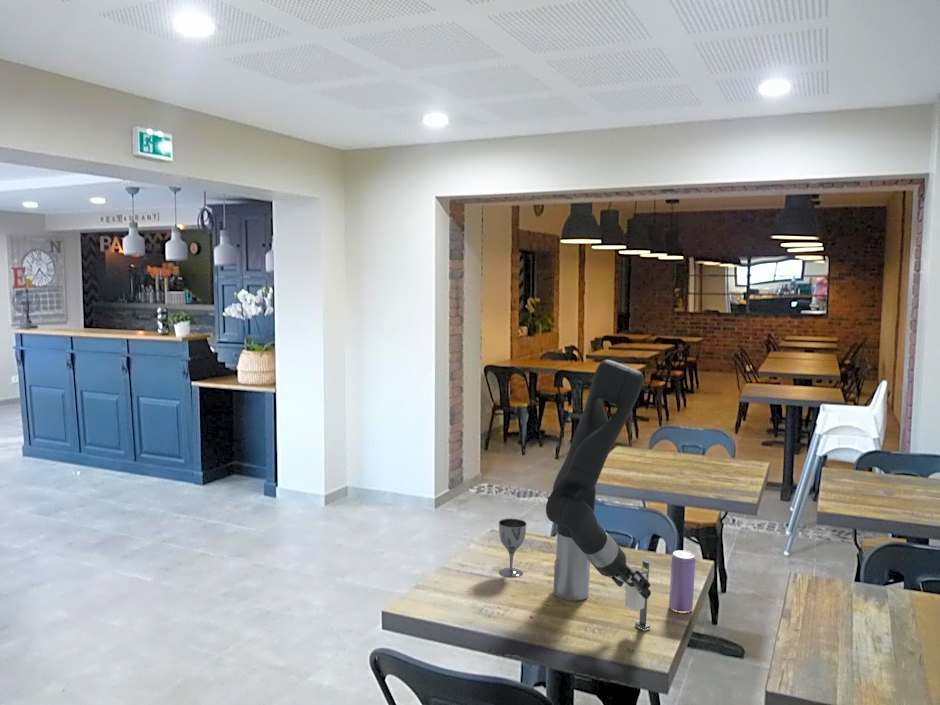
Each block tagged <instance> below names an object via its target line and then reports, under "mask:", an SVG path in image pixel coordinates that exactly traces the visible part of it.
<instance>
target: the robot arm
mask: <svg viewBox="0 0 940 705" xmlns="http://www.w3.org/2000/svg"><path fill="white" fill-rule="evenodd" d="M644 379H645V378H644V374H643V373H642V372H641V371H640V370H638V369H635V368H633V367H630V366H627V365H626V364H622V363H620V362H617V361H614V360H611V359H604V360H602V361H601V362H600V363H599V364H598V366H597V367H596V370H595V372H594V375H593V377H592V381H591V385H590V388H589V391H588V395H587V399H586V402H585V405H584V409H583V412H582V414H581V417H580V419H579V421H578V423H577V426H576V429H575V431H574V434H573V437H572V439H571V444H570V445H569V446H570V447H569V450H568V452H567V455H566V457H565V460H564V462H563V464H562V466H561V468H560V470H559V472H558V473H557V476H556V478H555V480H554V482H553V486H552V492H551V493H550V495H549V496H548V499H547V500H546V506H545V514H546V517H547V519H548V520H549V521H550V522H551V523H554V524H556V525H557V527H556V548H555V549H556V553H555V560H554V566H553V568H554V569H553V570H554V571H553V588H552V591H553V593H552V595H553V597H558V598H560V599H563V600H567V601H574V602H575V601H583V600H585V599H587V598H588V597H589V592H590V575H591V574H590V572H591V570H590V568H591V566H592V567H594V568H595V570H597V572H598V573H599V574H600V575H601V576H604V577H607V578H609V579H612V581H613V582H614V583H615V584H616V585H617V587H619V588H622V586H623V585H624V584H625V586H626V585H627V586H629V587H633V588H635V589H636V590H637V591H638V592H639V593H640V594H641V595H642V597H643V598H645V599H647V600H649V598H650V596H651V594H652V591H651V590H650V587H651V583H650V582H649V580H648V581H647V580H646V579H645V578H644V577H643V576H642V574H641V573H640V572H639V571H637V570H636V571H635V572H634V571H633V570H632V569H630V568H631V567H630V566H629V565H628V564H627V557H626V553H625V552H624V551H623V550H622V549H621V547H620V545H619V544H617V542H616V541H615V540H614V539H613V538H612V537H611V535H610V534H608V532H606V531H605V530H604V528H603V527H602V526H601V525H600V524H599V522H598V520H597V517H596V515H595V505H596V504H595V503H596V495H597V494H596V492H597V491H596V485H597V483H598V480H599V478H600V475H601V473H602V471H603V468H604V465H605V462H606V461H607V458H608V456H609V454H610V452H611V450H612V448H613V446H614V445H615V442H616V440H617V439H618V438H619V436H620V434H621V432H622V431H623V428H624V426H625V424H626V422H627V420H628V418H629V417H630V415H631V412H632V411H633V408H634V406H635V404H636V402H637V400H638V398H639V395H640V394H641V390H642V388H643V385H644ZM604 401H607V402H609V403H611V404H613V405H616V406H617V409H616V411H615V412H614V413H613V415H612V417H611V418H610V419H609V418H608V415H607V413H606V410H605V407H604ZM630 577H631V582H630V583H629V582H628V580H629V578H630Z"/></svg>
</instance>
